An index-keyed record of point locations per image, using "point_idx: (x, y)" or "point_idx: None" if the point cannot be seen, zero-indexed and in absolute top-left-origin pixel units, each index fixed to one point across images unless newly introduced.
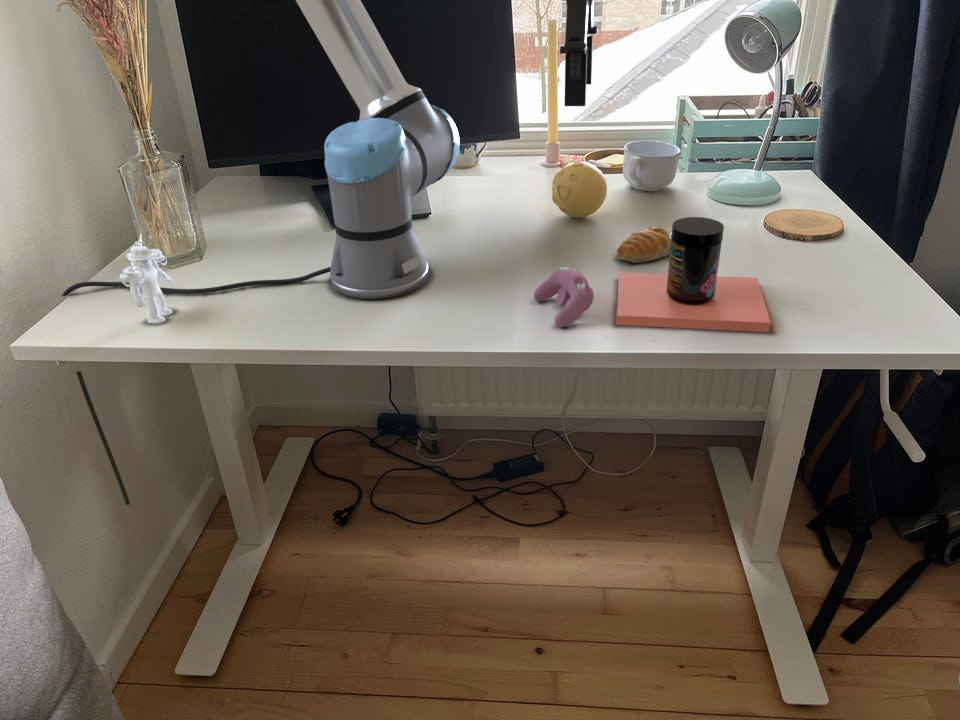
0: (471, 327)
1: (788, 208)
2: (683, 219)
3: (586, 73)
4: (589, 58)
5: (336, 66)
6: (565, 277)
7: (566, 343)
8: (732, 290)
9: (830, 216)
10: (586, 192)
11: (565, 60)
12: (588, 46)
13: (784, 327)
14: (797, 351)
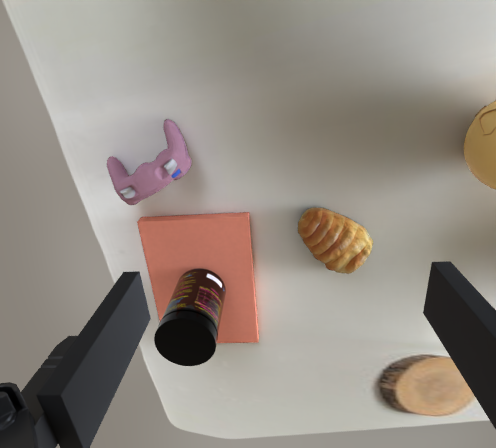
0: (79, 48)
1: None
2: (203, 329)
3: (441, 323)
4: (466, 369)
5: None
6: (138, 172)
7: (86, 172)
8: (223, 321)
9: (451, 410)
10: (477, 163)
11: (53, 372)
12: (494, 406)
13: None
14: (142, 350)
